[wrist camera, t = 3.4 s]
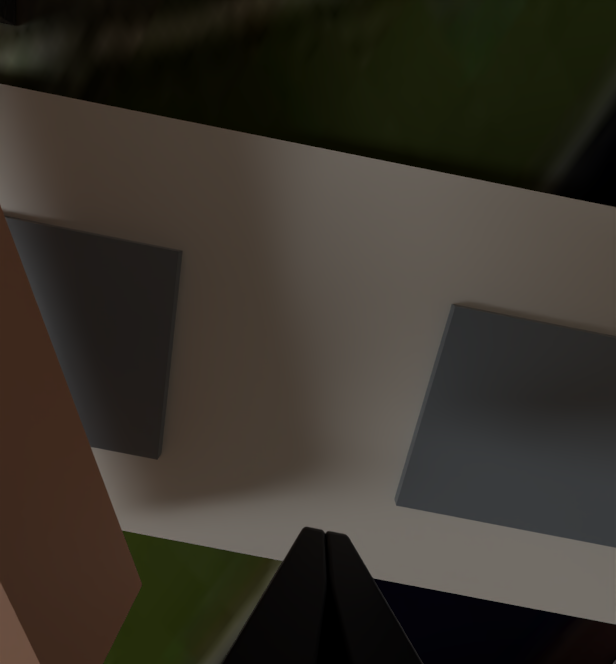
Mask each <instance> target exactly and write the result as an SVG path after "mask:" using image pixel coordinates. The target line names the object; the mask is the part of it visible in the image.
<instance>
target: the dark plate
mask: <svg viewBox="0 0 616 664" xmlns="http://www.w3.org/2000/svg"><path fill="white" fill-rule="evenodd" d="M0 23H5V24H10V25H15V0H0Z"/></svg>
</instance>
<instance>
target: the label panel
mask: <svg viewBox="0 0 616 664" xmlns="http://www.w3.org/2000/svg"><path fill="white" fill-rule="evenodd" d="M0 205H1V208H2V211H3V214H4V216H5V219H6V222H7V224H8V227H9V230H10V232H11V235H12V238H13V240H14V243H15V246H16V248H17V251H18V254H19V256H20V259H21V262H22V264H23V267H24V270H25V272H26V275H27V278H28V280H29V283H30V286H31V289H32V291H33V294H34V297H35V299H36V302H37V305H38V307H39V310H40V313H41V315H42V318H43V321H44V323H45V326H46V329H47V331H48V334H49V337H50V339H51V342H52V345H53V347H54V350H55V353H56V355H57V358H58V361H59V364H60V366H61V369H62V372H63V374H64V377H65V380H66V382H67V385H68V388H69V390H70V393H71V396H72V398H73V401H74V404H75V406H76V409H77V412H78V414H79V417H80V420H81V422H82V425H83V428H84V430H85V433H86V436H87V439H88V441H89V444H90V447H91V449H92V452H93V455H94V457H95V460H96V463H97V465H98V468H99V471H100V473H101V476H102V479H103V481H104V484H105V487H106V489H107V492H108V495H109V497H110V500H111V503H112V505H113V508H114V511H115V514H116V516H117V519H118V522H119V524H120V527H121V530H123V531H128V532H134V533H139V534H144V535H149V536H155V537H160V538H165V539H170V540H176V541H181V542H186V543H191V544H197V545H202V546H207V547H212V548H218V549H223V550H228V551H233V552H239V553H244V554H249V555H254V556H260V557H265V558H270V559H275V560H281V561H283V560H284V558H285V557H286V555H287V553H288V552H289V550H290V548H291V547H292V545H293V543H294V542H295V540H296V538H297V537H298V535H299V533H300V532H301V530H302V528H304V527H312V528H317V529H322V530H323V531H324V532H325V533H326V532H327V531H333V532H338V533H343V534H346V535H347V536H348V537H349V538H350V540H351V542H352V543H353V545H354V547H355V548H356V550H357V552H358V554H359V555H360V557H361V559H362V560H363V562H364V564H365V565H366V567H367V569H368V571H369V572H370V574H371V576H372V577H373V578H375V579H381V580H386V581H391V582H396V583H402V584H407V585H412V586H417V587H423V588H428V589H433V590H438V591H444V592H449V593H454V594H459V595H465V596H470V597H475V598H480V599H486V600H491V601H496V602H502V603H507V604H512V605H517V606H523V607H528V608H533V609H538V610H544V611H549V612H554V613H559V614H565V615H570V616H575V617H580V618H586V619H591V620H596V621H601V622H607V623H612V624H616V207H612V206H607V205H602V204H597V203H592V202H587V201H582V200H577V199H572V198H567V197H562V196H557V195H552V194H547V193H542V192H537V191H532V190H527V189H522V188H517V187H512V186H507V185H502V184H497V183H492V182H487V181H482V180H477V179H473V178H468V177H463V176H458V175H453V174H448V173H443V172H438V171H433V170H428V169H423V168H418V167H413V166H408V165H403V164H398V163H393V162H388V161H383V160H378V159H373V158H368V157H363V156H358V155H353V154H348V153H343V152H338V151H333V150H328V149H323V148H318V147H313V146H308V145H303V144H298V143H293V142H288V141H283V140H278V139H273V138H268V137H263V136H258V135H253V134H248V133H243V132H238V131H233V130H228V129H223V128H218V127H213V126H208V125H203V124H198V123H193V122H188V121H183V120H178V119H173V118H168V117H163V116H158V115H153V114H148V113H143V112H139V111H134V110H129V109H124V108H119V107H114V106H109V105H104V104H99V103H94V102H89V101H84V100H79V99H74V98H69V97H64V96H59V95H54V94H49V93H44V92H39V91H34V90H29V89H24V88H19V87H14V86H9V85H4V84H0Z"/></svg>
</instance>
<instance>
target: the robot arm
mask: <svg viewBox="0 0 616 664" xmlns="http://www.w3.org/2000/svg"><path fill="white" fill-rule="evenodd" d="M221 664H423V663H422V661H421V659H420V658H419V656H418V654H417V653H416V651H415V649H414V648H413V646H412V644H411V642H410V641H409V639H408V637H407V636H406V634H405V632H404V630H403V629H402V627H401V625H400V624H399V622H398V620H397V618H396V617H395V615H394V613H393V612H392V610H391V608H390V606H389V605H388V603H387V601H386V600H385V598H384V596H383V595H382V593H381V591H380V589H379V588H378V586H377V584H376V583H375V581H374V579H373V577H372V576H371V574H370V572H369V571H368V569H367V567H366V565H365V564H364V562H363V560H362V559H361V557H360V555H359V554H358V552H357V550H356V548H355V547H354V545H353V543H352V542H351V540H350V538H349V537H348V536H347V535H346V534H343V533H338V532H333V531H327V532H326V533H325V532H324V531H323V530H322V529H317V528H312V527H304V528H302V530H301V532H300V533H299V535H298V537H297V538H296V540H295V542H294V543H293V545H292V547H291V548H290V550H289V552H288V553H287V555H286V557H285V558H284V560H283V562H282V563H281V565H280V567H279V568H278V570H277V572H276V573H275V575H274V577H273V578H272V580H271V582H270V583H269V585H268V587H267V588H266V590H265V592H264V593H263V595H262V597H261V598H260V600H259V602H258V603H257V605H256V607H255V608H254V610H253V612H252V613H251V615H250V617H249V618H248V620H247V622H246V623H245V625H244V627H243V628H242V630H241V632H240V633H239V635H238V637H237V638H236V640H235V642H234V643H233V645H232V647H231V648H230V650H229V652H228V653H227V655H226V657H225V658H224V660H223V662H222V663H221Z"/></svg>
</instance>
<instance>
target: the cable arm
mask: <svg viewBox="0 0 616 664" xmlns="http://www.w3.org/2000/svg"><path fill="white" fill-rule="evenodd" d="M141 586H142V583H141V580H140V578H139V575H138V572H137V570H136V567H135V564H134V562H133V559H132V556H131V554H130V551H129V548H128V546H127V543H126V540H125V538H124V535H123V532H122V530H121V527H120V524H119V522H118V519H117V516H116V514H115V511H114V508H113V505H112V503H111V500H110V497H109V495H108V492H107V489H106V487H105V484H104V481H103V479H102V476H101V473H100V471H99V468H98V465H97V463H96V460H95V457H94V455H93V452H92V449H91V447H90V444H89V441H88V439H87V436H86V433H85V430H84V428H83V425H82V422H81V420H80V417H79V414H78V412H77V409H76V406H75V404H74V401H73V398H72V396H71V393H70V390H69V388H68V385H67V382H66V380H65V377H64V374H63V372H62V369H61V366H60V364H59V361H58V358H57V355H56V353H55V350H54V347H53V345H52V342H51V339H50V337H49V334H48V331H47V329H46V326H45V323H44V321H43V318H42V315H41V313H40V310H39V307H38V305H37V302H36V299H35V297H34V294H33V291H32V289H31V286H30V283H29V280H28V278H27V275H26V272H25V270H24V267H23V264H22V262H21V259H20V256H19V254H18V251H17V248H16V246H15V243H14V240H13V238H12V235H11V232H10V230H9V227H8V224H7V222H6V219H5V216H4V214H3V211H2V208H1V205H0V664H103V662H104V660H105V658H106V656H107V654H108V652H109V650H110V648H111V646H112V644H113V642H114V640H115V638H116V636H117V634H118V632H119V630H120V628H121V626H122V624H123V622H124V620H125V618H126V616H127V614H128V612H129V610H130V608H131V606H132V604H133V602H134V600H135V598H136V596H137V594H138V592H139V590H140V588H141Z"/></svg>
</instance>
